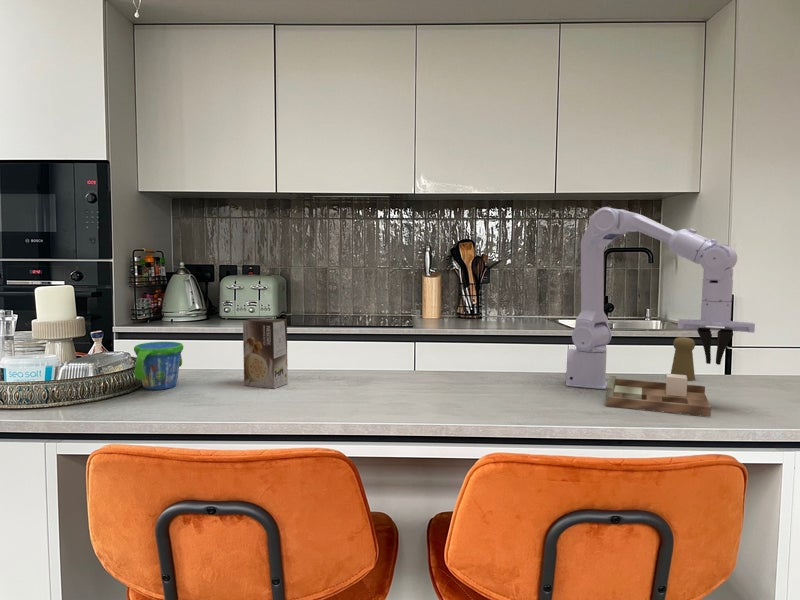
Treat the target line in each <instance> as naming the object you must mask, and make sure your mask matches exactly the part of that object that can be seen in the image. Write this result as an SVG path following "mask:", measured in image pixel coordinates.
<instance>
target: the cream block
mask: <svg viewBox="0 0 800 600" xmlns="http://www.w3.org/2000/svg"><path fill="white" fill-rule="evenodd" d="M665 379H666V380H665V383H666V395H674V396H684V397H686V396H687V385H688V381H687V376H686V375H678V374H671V373H666V378H665Z"/></svg>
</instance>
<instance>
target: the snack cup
mask: <svg viewBox="0 0 800 600" xmlns="http://www.w3.org/2000/svg"><path fill="white" fill-rule="evenodd" d="M183 350H184V345H183V343H182V342H178V341H153V342H151V341H150V342H144V343H140V344H139V343H138V344H137V345H135V346H134V347H133V351H134V353H135V355H136V360H135V363H134V364H135V366H134V371H133V372H134V373H133V374H134V378H135V379H137V380H141V384H142V388H143V389H144V388H145V389H147V390H153V391H155V390H156V391H157V390H160V391H161V390H167V389H168V390H169V389H171V388H173V387H175V386H177V384H178V377H179V372H180V371H179V370H180V368H181V367H182V365H183V358H182V354H181V353H182V352H183Z"/></svg>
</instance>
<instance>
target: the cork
mask: <svg viewBox="0 0 800 600" xmlns="http://www.w3.org/2000/svg"><path fill="white" fill-rule="evenodd" d="M672 344H673V347H674V349H675V350H674V354H673V360H672V364H671V365H672V366H671V370H670V374H678V375H686V376H687V382H688V381H689V382H690V381H691V382H692V381H695V380H696V376H695V367H694V356H693V354H694V353H693V350H694V349H695V346H696V343H695V340H694V339H693V338H690V337H687V336H686V337H684V336H680V337H675V338H674V340H673V343H672Z"/></svg>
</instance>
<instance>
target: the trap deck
mask: <svg viewBox="0 0 800 600" xmlns="http://www.w3.org/2000/svg"><path fill="white" fill-rule="evenodd" d="M705 392H706V386H705V385H694V384H687V396H686V397H684V396H674V395H666V382H660V381H652V380H651V381H648V380H641V379H640V380H636V379H625V378H617V377H616V376H615V375H610V376H609V380H608V384H607V387H606V401H605V405H606V407H609V408H610V407H611V408H612V407H613V408H620V409H628V408H633V409H632V410H638V409H645V410H644V411H647V410H655V411H654V412H657V411H664V412H663V413H667V412H673V413H672V414H676V413H681V414H680V415H686V414H690V416H695V415H701V416H700V417H705V416H710V417H711V415H712V413H711V410H712V407H711V405H710V402H709V399H708V398H707V395H706V393H705Z"/></svg>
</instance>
